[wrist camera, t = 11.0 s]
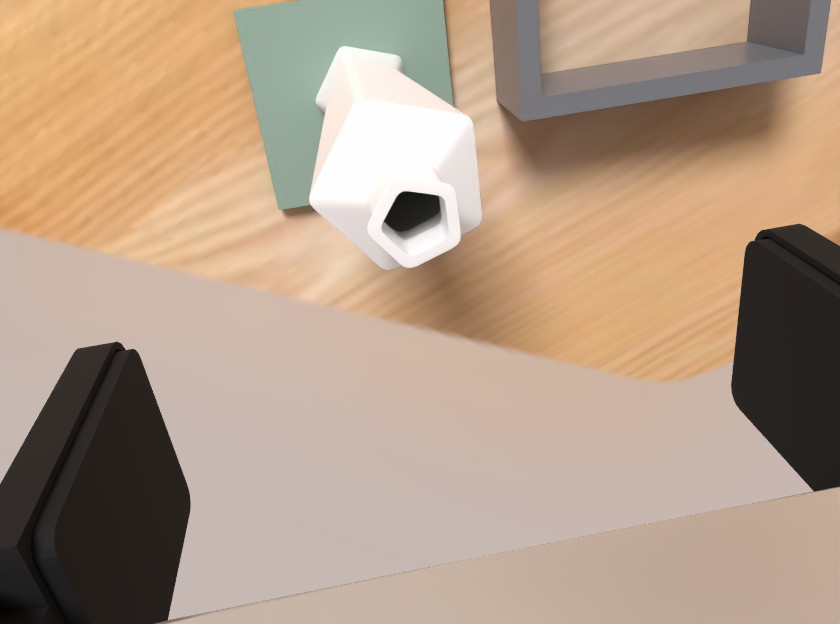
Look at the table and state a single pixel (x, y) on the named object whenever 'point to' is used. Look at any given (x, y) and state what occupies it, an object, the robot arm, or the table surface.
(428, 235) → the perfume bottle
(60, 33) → the table surface
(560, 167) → the table surface
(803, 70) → the bin
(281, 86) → the mat
